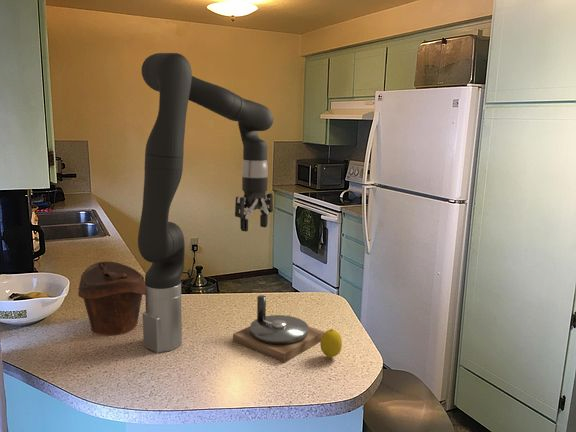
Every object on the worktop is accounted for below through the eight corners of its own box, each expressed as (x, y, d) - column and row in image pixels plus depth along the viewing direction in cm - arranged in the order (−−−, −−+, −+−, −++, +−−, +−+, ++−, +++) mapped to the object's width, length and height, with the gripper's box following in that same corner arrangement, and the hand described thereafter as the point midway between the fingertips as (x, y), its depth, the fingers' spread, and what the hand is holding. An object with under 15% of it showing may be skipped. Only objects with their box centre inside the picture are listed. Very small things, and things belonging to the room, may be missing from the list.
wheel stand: (284, 363, 122) (284, 353, 122) (232, 342, 133) (232, 333, 133) (323, 339, 136) (324, 331, 136) (274, 322, 147) (274, 314, 147)
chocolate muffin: (131, 343, 130) (129, 279, 127) (65, 335, 134) (61, 273, 131) (161, 319, 148) (159, 262, 145) (101, 313, 152) (99, 257, 149)
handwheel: (319, 330, 136) (320, 301, 134) (284, 350, 123) (285, 318, 121) (274, 315, 145) (275, 288, 144) (238, 332, 132) (238, 303, 131)
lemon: (327, 351, 129) (329, 322, 128) (345, 357, 126) (346, 328, 125) (315, 358, 125) (316, 329, 124) (333, 365, 122) (334, 335, 120)
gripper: (247, 178, 135) (247, 234, 138) (280, 174, 146) (278, 227, 149) (228, 175, 140) (228, 230, 143) (261, 173, 151) (260, 224, 154)
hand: (254, 229), depth 146 cm, fingers open, 8 cm apart
